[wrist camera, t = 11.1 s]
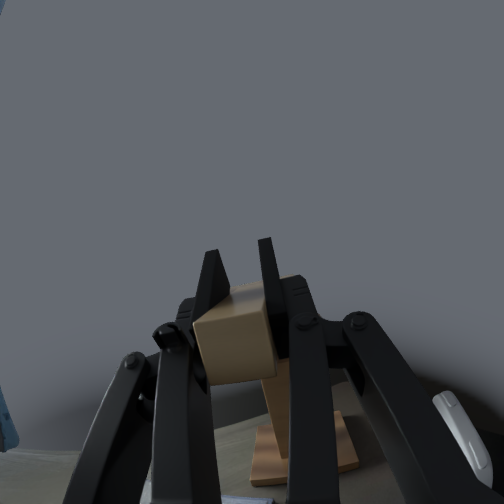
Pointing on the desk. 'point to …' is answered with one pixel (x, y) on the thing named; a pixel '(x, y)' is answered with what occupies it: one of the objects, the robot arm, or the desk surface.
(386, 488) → the desk surface
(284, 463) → the shelf stand
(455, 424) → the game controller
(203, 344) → the eraser
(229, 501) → the whiteboard
